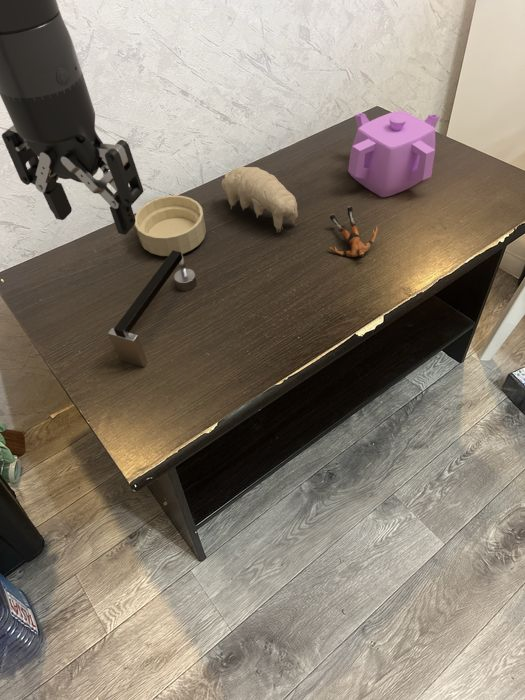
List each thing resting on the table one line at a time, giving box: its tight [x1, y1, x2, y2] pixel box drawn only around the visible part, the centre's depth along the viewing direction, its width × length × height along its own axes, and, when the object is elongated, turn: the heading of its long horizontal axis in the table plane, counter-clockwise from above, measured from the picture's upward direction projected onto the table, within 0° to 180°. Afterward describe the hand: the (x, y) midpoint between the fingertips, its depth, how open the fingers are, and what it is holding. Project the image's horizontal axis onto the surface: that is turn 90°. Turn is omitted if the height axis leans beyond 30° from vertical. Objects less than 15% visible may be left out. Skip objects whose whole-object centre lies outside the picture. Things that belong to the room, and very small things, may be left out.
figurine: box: [329, 205, 379, 259], centre depth 91 cm, size 9×2×11 cm
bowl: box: [134, 195, 207, 257], centre depth 94 cm, size 13×13×5 cm
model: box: [221, 166, 299, 233], centre depth 95 cm, size 7×18×10 cm, turn 49°
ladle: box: [107, 250, 198, 368], centre depth 80 cm, size 20×4×8 cm, turn 158°
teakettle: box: [347, 109, 440, 198], centre depth 100 cm, size 17×17×12 cm
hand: (95, 222), depth 58 cm, fingers open, 8 cm apart
